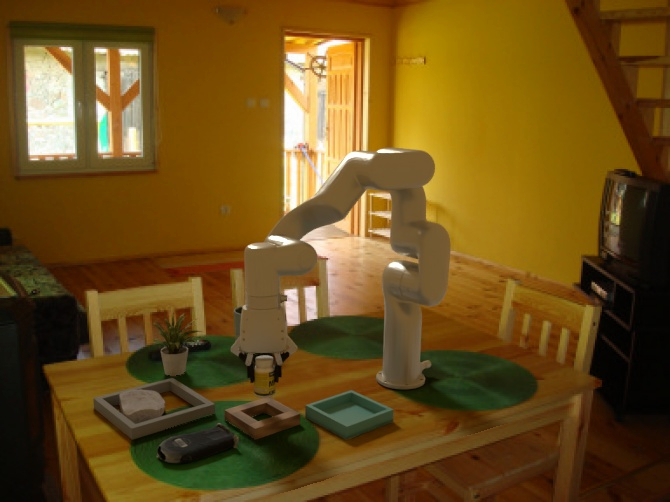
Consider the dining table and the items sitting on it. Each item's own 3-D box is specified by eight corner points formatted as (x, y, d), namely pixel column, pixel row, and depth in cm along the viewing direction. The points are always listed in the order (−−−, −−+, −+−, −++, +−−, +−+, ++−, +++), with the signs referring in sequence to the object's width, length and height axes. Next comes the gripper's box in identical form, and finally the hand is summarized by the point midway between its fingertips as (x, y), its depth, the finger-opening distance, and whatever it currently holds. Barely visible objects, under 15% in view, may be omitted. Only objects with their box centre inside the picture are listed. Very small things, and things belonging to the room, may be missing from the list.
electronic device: (215, 439, 150) (149, 449, 141) (220, 416, 149) (154, 424, 140) (236, 462, 143) (168, 474, 134) (241, 438, 142) (173, 448, 133)
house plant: (159, 389, 172) (157, 325, 169) (134, 372, 182) (131, 312, 179) (209, 375, 181) (208, 315, 178) (183, 360, 192) (181, 303, 188)
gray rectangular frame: (172, 387, 173) (172, 377, 173) (215, 414, 159) (214, 404, 158) (93, 408, 160) (93, 397, 160) (132, 439, 146) (131, 428, 145)
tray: (351, 401, 167) (351, 390, 166) (393, 421, 157) (393, 409, 156) (305, 417, 158) (305, 405, 157) (346, 440, 148) (346, 426, 147)
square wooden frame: (268, 406, 163) (268, 396, 163) (300, 424, 154) (300, 413, 154) (224, 420, 156) (224, 409, 155) (255, 439, 147) (255, 428, 146)
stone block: (158, 407, 166) (115, 406, 162) (162, 389, 165) (118, 386, 161) (167, 430, 156) (121, 429, 151) (171, 410, 155) (125, 408, 151)
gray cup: (239, 343, 207) (239, 304, 205) (272, 345, 206) (272, 306, 203) (229, 354, 197) (229, 313, 195) (264, 357, 196) (264, 316, 194)
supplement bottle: (272, 399, 151) (271, 363, 150) (251, 397, 152) (250, 361, 151) (278, 390, 156) (277, 355, 154) (257, 389, 157) (257, 353, 155)
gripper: (302, 295, 154) (303, 373, 158) (225, 296, 153) (227, 374, 157) (302, 305, 146) (303, 386, 150) (221, 306, 146) (224, 388, 149)
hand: (264, 379), depth 153 cm, fingers closed on supplement bottle, 4 cm apart
